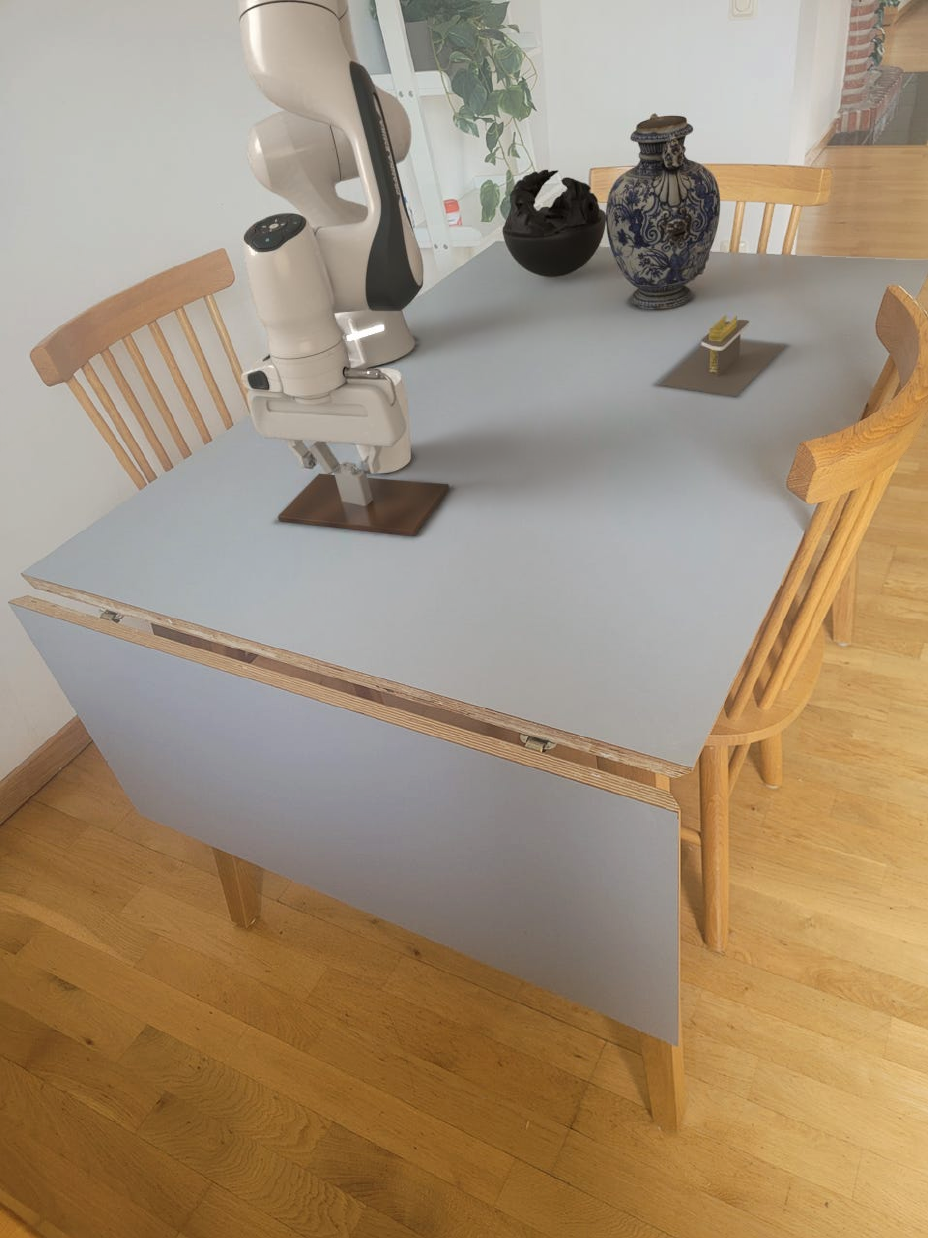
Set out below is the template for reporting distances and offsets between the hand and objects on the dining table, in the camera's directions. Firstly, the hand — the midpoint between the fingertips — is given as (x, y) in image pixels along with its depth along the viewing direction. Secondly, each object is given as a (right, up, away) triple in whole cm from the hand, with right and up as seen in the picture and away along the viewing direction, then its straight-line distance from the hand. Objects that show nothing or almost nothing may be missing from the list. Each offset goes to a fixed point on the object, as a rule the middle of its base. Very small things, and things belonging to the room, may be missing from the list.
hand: (341, 469), depth 109 cm
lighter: (+1, -4, +3) cm, 5 cm away
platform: (+55, +19, +18) cm, 60 cm away
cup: (+5, +3, +11) cm, 12 cm away
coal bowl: (+35, +50, +61) cm, 86 cm away
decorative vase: (+51, +38, +42) cm, 76 cm away
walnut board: (+3, -4, +2) cm, 6 cm away
